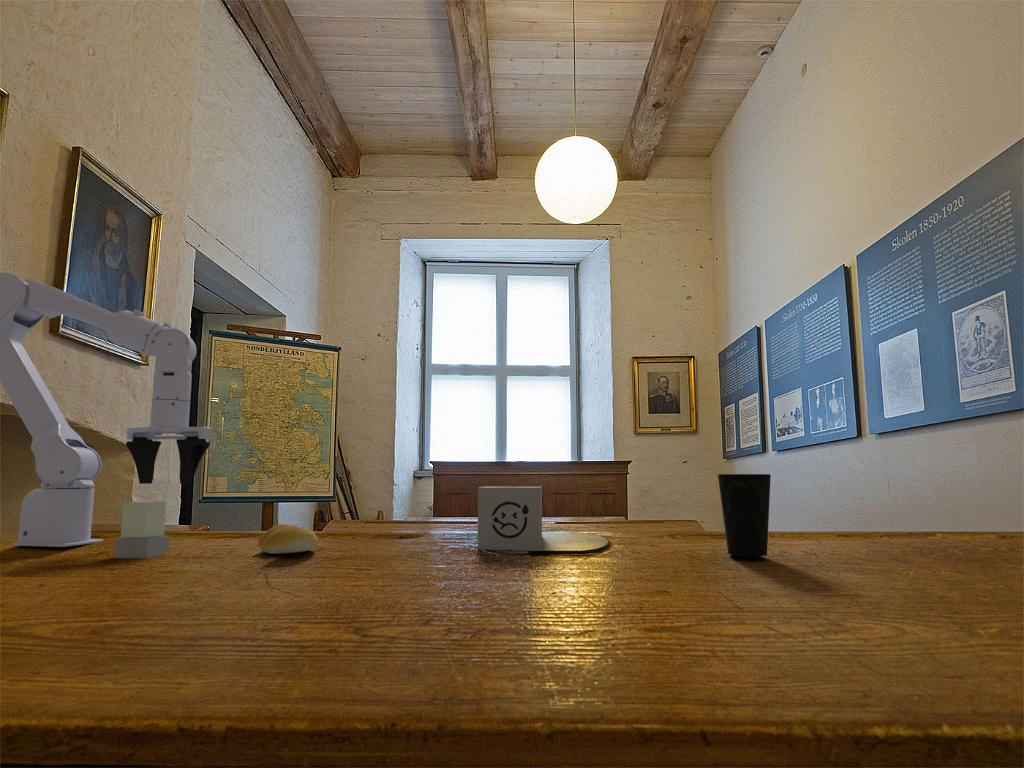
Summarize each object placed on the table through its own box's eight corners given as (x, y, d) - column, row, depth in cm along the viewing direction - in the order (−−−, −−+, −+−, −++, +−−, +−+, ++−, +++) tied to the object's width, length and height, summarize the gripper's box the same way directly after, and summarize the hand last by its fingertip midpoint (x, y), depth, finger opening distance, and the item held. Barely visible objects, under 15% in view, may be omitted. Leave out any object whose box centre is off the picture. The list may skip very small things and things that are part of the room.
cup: (773, 552, 105) (769, 474, 107) (775, 558, 98) (771, 474, 100) (721, 550, 108) (718, 474, 109) (719, 556, 100) (716, 474, 102)
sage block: (120, 537, 99) (122, 502, 100) (141, 535, 103) (143, 501, 104) (144, 537, 98) (146, 502, 99) (164, 535, 102) (165, 501, 103)
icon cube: (542, 545, 116) (541, 486, 117) (541, 552, 106) (540, 487, 107) (483, 545, 117) (484, 486, 118) (477, 552, 107) (477, 487, 108)
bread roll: (273, 555, 97) (272, 527, 98) (252, 552, 104) (252, 526, 105) (327, 549, 102) (327, 522, 103) (304, 546, 109) (304, 521, 110)
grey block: (114, 559, 98) (115, 537, 99) (137, 555, 103) (138, 534, 104) (146, 560, 98) (147, 538, 98) (168, 556, 103) (169, 535, 103)
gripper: (115, 399, 111) (108, 483, 109) (193, 397, 108) (188, 484, 106) (146, 404, 118) (141, 483, 116) (221, 402, 115) (216, 483, 113)
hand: (165, 483), depth 111 cm, fingers open, 7 cm apart
